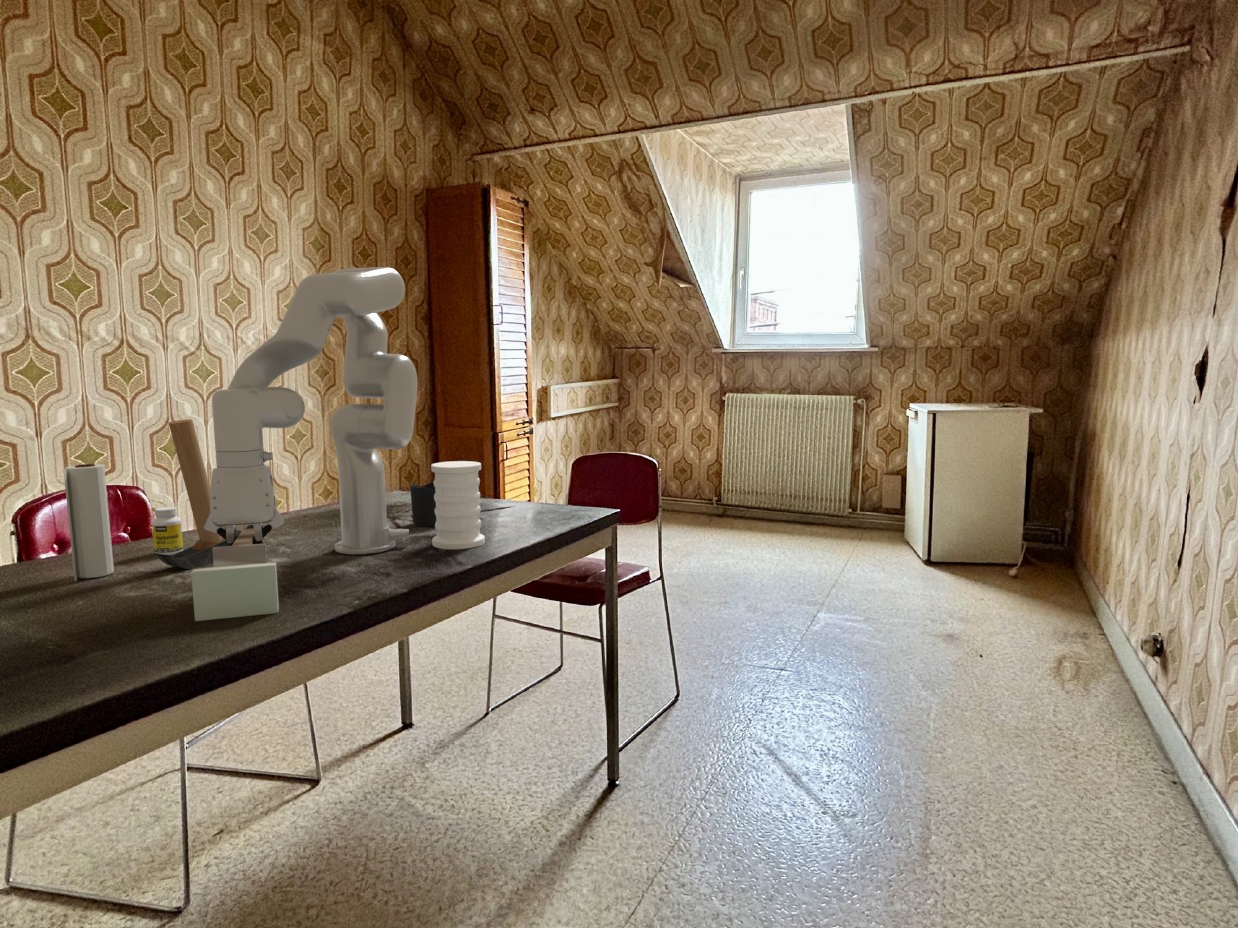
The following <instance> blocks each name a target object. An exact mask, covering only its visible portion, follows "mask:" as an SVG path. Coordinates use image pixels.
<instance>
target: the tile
mask: <svg viewBox="0 0 1238 928" xmlns="http://www.w3.org/2000/svg"><path fill="white" fill-rule="evenodd" d="M277 572H278V571H277V562H267V563H263V564H251V565H238V566H226V567H214V566H212V567H204V568H203V567H202V568H201V567H200V568H194V569H192V571H191V572H190V573H191V585H192V599H193V600H192V601H193V611H194V612H193V613H194V622H201V621H210V620H211V621H212V620H218V619H219V620H220V619H230V618H240V617H248V616H259V615H261V616H262V615H271V614H279V610H280V606H279V605H280V603H279V590H278V588H279V587H278V574H277Z"/></svg>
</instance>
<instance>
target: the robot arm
mask: <svg viewBox="0 0 1238 928" xmlns="http://www.w3.org/2000/svg"><path fill="white" fill-rule="evenodd" d="M405 285H406V284H405V281H404V279H403V277H402V275H401V274H400V273H399V272H398V271H397V270H396V269H394V268H393V267H388V266H374V267H373V266H372V267H354V268H353V267H350V268H343V269H338V270H334V271H333V272H329V273H324V272H323V273H315V274H310V275H308V276H306V277H304V278H303V279H302V280H301V281H300V283H299V284H298V286H297V288H296V291H295V293H294V295H293V297H292V299H291V301H290V303H289V306H288V308H287V309H286V312H285V314H284V317H283V319H282V320H281V323H280V325H279V326H278V328H277V331H276V332H275V334H273V335H272V336H271V337H270V338H269V339H267V340H266V341H265V342H263V343H262V344H261V345H260V346H259V347H258V348H256V349H255V350H254V351H252V352H251V354H249V355H248V356H247V357H246V358H245V359H244V360H243V361H242V363H241V364H240V365H239V366H238V368H237V369H236V371H235V373H234V376H232V380H231V381H230V384H229V386H228V388H227V389H219V390H217V391H215V392H214V393H212V398H211V406H212V419H213V434H214V436H213V437H214V449H215V462H216V464H215V465H216V467H214V468H213V469H212V471H211V479H210V480H211V481H210V490H211V495H210V511H211V513H210V515H209V517H208V519H207V522H206V524H205V526H204V529H205V530H208V531H211V532H214V533H217V534H219V535H220V536H221V537H222V538H224V539H225V540H226V541H227V542H228V543H229V546H232V545H233V543H234V542H235V540H236V539H237V536H236V530H237V526H245V525H247V526H248V525H254V533H255V537H254V541H253V544H264V543H263V539H264V538H265V537H266V536H267V535H268V534H269V533H271V531H272V530H273V531H274V530H275V529H277V528H279V527H280V526H283V525H284V521H285V520H284V518H283V517H282V515H281V513H280V511H279V510H278V509H277V501H276V492H275V486H274V479H273V474H272V470H271V467H270V466H269V465H265V463H266V462H268V461H273V460H274V454H273V452H268V451H267V450H265V448H264V442H263V441H264V438H263V429H264V428H265V429H266V428H267V429H286V428H287V429H288V428H291V427H294V426H296V425H297V424H298V423H300V421H301V420H302V418H303V417H304V414H305V411H306V405H305V402H304V401H305V400H304V399H303V397H302V395H300V394H299V393H298V392H297V391H295V390H294V389H291V388H289V387H281V386H270V385H271V384H272V383H273V382H274V381H275V380H277V379H278V377H280V376H282V375H283V374H284V373H286V372H288V371H290V370H292V369H295V368H297V367H300V366H302V365H304V364H306V363H308V362H310V361H312V360H314V359H316V358H317V357H318V356H319V355H320V354H321V353H322V351H323V349H324V346H325V343H326V341H327V339H328V336H329V334H330V332H331V329H332V327H333V325H334V323H335V320H336V319H337V318H341V319H342V320H343V323H344V327H345V332H346V335H345V337H346V339H345V340H346V342H345V352H344V361H343V362H344V363H343V372H342V373H343V375H342V376H343V377H342V382H343V388H344V390H345V392H346V393H347V394H348V395H350V396H352V397H355V398H361V399H383V404H379V403H378V404H375V403H351V404H346V405H343V406H340V407H339V408H337V409H336V410H335V411H334V412H333V415H332V416H331V419H330V433H331V436H332V440H333V444H334V447H335V453H336V457H337V458H336V459H337V469H338V488H339V491H338V492H339V493H338V494H339V508H340V510H339V511H340V512H339V513H340V527H341V528H340V529H341V541H338V542H337V543H335V544H334V551H335V552H337V553H338V554H343V555H369V554H370V555H371V554H377V553H383V552H386V551H389V550H392V549H393V548H395V546H396V540H395V539H408V538H409V539H410V530H409V528H405V529H404V528H395V529H394V528H391V527H390V525H389V523H388V518H387V517H388V515H387V496H386V495H387V491H386V473H385V472H386V471H385V466H384V462H383V459H382V458H381V455H380V453H379V452H378V451H377V450H400V449H403V448H405V447H406V446H408V444H410V441H411V439H412V437H413V432H414V427H415V426H414V425H415V416H416V409H417V408H416V407H417V396H418V395H417V394H418V381H419V380H418V373H417V370H416V367H415V364H414V363H413V361H412V360H411V359H410V358H409V357H408V356H406V355H404V354H400V353H388V340H389V339H388V338H389V336H388V335H389V334H388V331H387V327H386V325H385V323H384V321H383V320H382V318H381V316H380V315H379V313H381V312H385V311H390V310H393V309H395V308H396V307H398V306H399V305H400V304H401V303H402V302H403V299H404V297H405V293H406V286H405ZM264 524H265V525H264Z"/></svg>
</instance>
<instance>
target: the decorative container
mask: <svg viewBox="0 0 1238 928" xmlns="http://www.w3.org/2000/svg"><path fill="white" fill-rule="evenodd" d="M430 468H431V469H430V470H431V472H432V473H434V480H433V482H434V487H435V494H434V499H435V501H436V508H435V511H434V512H435V515H436V523H435V526H434V528H435V530H436V535H435V536H434V537H432V540H431V541H432V543H431V544H432V546H433V547H434V548H437V549H441V550H465V549H466V550H467V549H472V548H473V549H474V548H477V547H481V546H482V545H484V544H485V543H486V539H485V537H486V536H485V535H484V534H482V533H481V529H480V528H481V527H482V521H481V519H480V514H481V511H482V508H481V505H480V500H481V492H480V489H479V486H480V482H481V479H480V477H479V471H481V470H482V463H481V462H478V461H470V460H469V461H467V460H457V461H456V460H455V461H454V460H453V461H441V462H440V461H439V462H435V463H431V465H430Z"/></svg>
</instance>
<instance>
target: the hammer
mask: <svg viewBox="0 0 1238 928" xmlns="http://www.w3.org/2000/svg"><path fill="white" fill-rule="evenodd" d="M168 425H169V430H170V433H171V437H172V441H173V445H174V448H175V451H176V456H177V460H178V464H179V467H180V471H181V474H182V478H183V482H184V485H185V490H186V493H187V494H186V495H187V498H188V500H189V503H190V507H191V511H192V515H193V519H194V523H195V527H196V530H197V534H198V540H197V541H196V542H195V543H194V545H192V546H191V547H187V548H185V549H183V551H180V552H178V553H176V554H173V555H164V554H163V555H162V554H158V553H154V552H153V554H154V555H155V557H156V558H158V559H159V560H160V561H161V562H162V563H164V564H166V565H167V566H170V567H174V568H178V569H179V568H180V569H184V570H193V569H199V568H201V567H202V568H203V567H205V566H208V565H212V564H213V552H212V548H213V547H223V546H229V543H228V542H227V541H226V540H225V539H224V538H222V537H221V536H220V535H219V534H217V533H214V532H211V531H208V530H205V529H204V526H205V524H206V522H207V519H208V517H209V515H210V513H211V511H210V495H211V485H210V482H209V479H208V474H207V472H206V467H205V464H204V460H203V455H202V451H201V447H200V445H199V444H200V443H199V441H198V436H197V432H196V428H195V424H194V421H193V419H192V418H184V419H179V420H172V421H169V422H168ZM253 528H254V525H253V524H248V525H247V526H246V527H245V528H244V529H253ZM241 532H242V530H237V529H236V536H237V537H238V536H239V535H240V533H241Z"/></svg>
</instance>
